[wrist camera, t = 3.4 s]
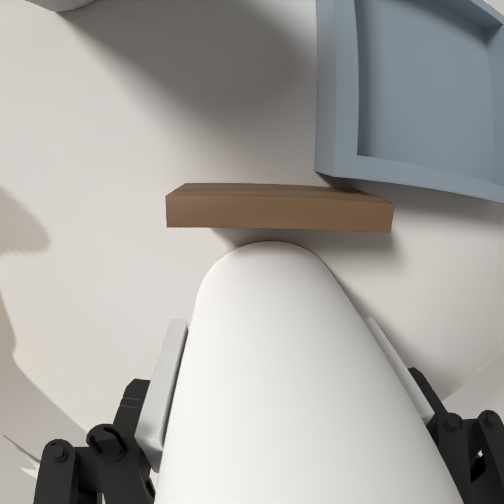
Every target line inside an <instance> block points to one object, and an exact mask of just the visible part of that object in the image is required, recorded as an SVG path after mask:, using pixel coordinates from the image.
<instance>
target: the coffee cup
mask: <svg viewBox="0 0 504 504" xmlns="http://www.w3.org/2000/svg"><path fill="white" fill-rule="evenodd" d="M26 1H29V2H32V3H34V4H36V5H39V6H41V7H44V8H46V9H48V10H50V11H56V12H59V11H68V10H74V9H77V8H80V7H83V6H85V5H87V4H88V3H90V2H92V1H94V0H26Z"/></svg>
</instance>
